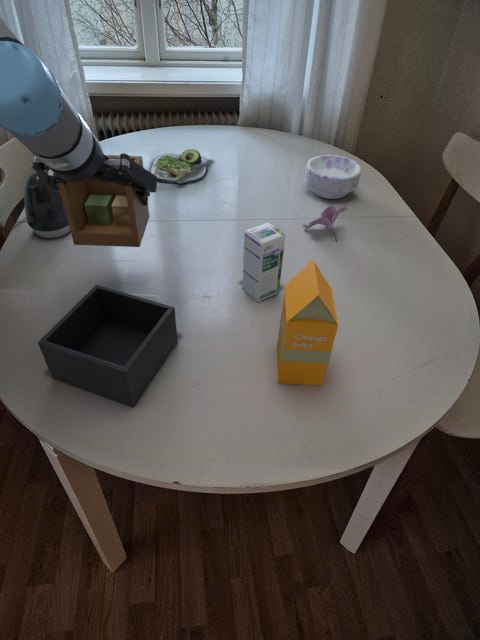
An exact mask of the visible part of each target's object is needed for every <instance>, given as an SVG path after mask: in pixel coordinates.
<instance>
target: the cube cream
mask: <svg viewBox="0 0 480 640" xmlns="http://www.w3.org/2000/svg"><path fill="white" fill-rule="evenodd" d="M111 207H112V212H113V217H114V223H115V225H118V226H131V223H130V217H129V211H128V204H127V198H126V196H120V195H116V197H115V199H114V201H113V203H112V206H111Z"/></svg>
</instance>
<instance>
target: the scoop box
mask: <svg viewBox="0 0 480 640" xmlns="http://www.w3.org/2000/svg"><path fill="white" fill-rule="evenodd" d="M107 155H108V156H109V157H110V159H119V157H120V154H107ZM129 157H130V158H131V160H132V161H134V162H135V163H137V164H139V165H140V166H142V167H143V168H144V160H143V156H142V155H129ZM104 176H106V174H105V175H104ZM57 182H58V180H57ZM129 184H130V185H131V183H129ZM58 187H59V191H60V194H61V198H62V202H63V205H64V209H65V213H66V216H67V220H68V224H69V228H70V231H69V232H70V234H71V239H72V242H73V245H74V246H97V247H98V246H99V247H121V248H123V247H124V248H127V247H128V248H141V244H142V241H143V238H144V235H145V232H146V229H147V225H148V223H149V220H150V211H149V205H148V206H146V205H143V204H142V202H141V201H140V199H139V198H138V197H137V195H136V191H135V190H133V188H132V187H131V186H125V187H124V186H121V185H119V184H116V183H113V182H111V183H105V182H102V181H99V180H97V179H95V180H92V179H87V180H84V181H81V182H68V183H67V184H66V185H65V184H64V183H58ZM90 194H92V195H112V200H113V201H114V199H115V197H116V195H120V196H126V198H127V204H128V211H129V217H130V223H131V226H118V225H115V223H114V218H113V220H112V223H111V225H93V224H89V223H88V218H87V214H86V210H85V203H86V201H87V199H88V198H89V196H90Z"/></svg>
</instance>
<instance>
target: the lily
mask: <svg viewBox="0 0 480 640" xmlns="http://www.w3.org/2000/svg"><path fill="white" fill-rule="evenodd" d="M350 205H351V203H348V204H345V205H343V206H341V207H339V208H338V209H337V207H335V206H334V205H329V206H327V207H326V208H325V209H323V211H322V212H321V214H320V217H318V218H316V219H314V220H312V221H310V222H308V225H307V226H306V227H305V228H304V231H307V230H308V229H310V228H311V227H313V226H316V225H322V226H327V227H330V228H331V229H332V232H333V236H334V239H335V243H337V242H338V240H337V234H336V231H335V227H334V224H335V222H336V220H337V218H338V216H339V215H340V214H341V213H343V212H346V211H348V210H349V208H348V207H349V206H350Z"/></svg>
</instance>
